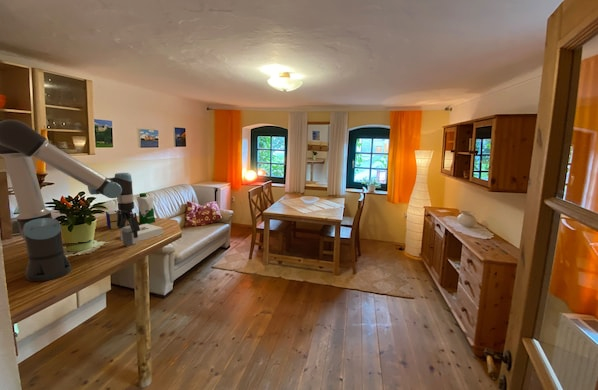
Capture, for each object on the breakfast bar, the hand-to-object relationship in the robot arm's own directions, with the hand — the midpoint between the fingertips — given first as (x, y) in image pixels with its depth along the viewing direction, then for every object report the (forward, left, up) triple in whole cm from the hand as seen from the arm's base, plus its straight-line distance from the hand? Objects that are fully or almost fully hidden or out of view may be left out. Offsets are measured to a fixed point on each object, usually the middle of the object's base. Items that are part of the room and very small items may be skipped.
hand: (129, 241), depth 165 cm
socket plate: (+13, +9, -2) cm, 16 cm away
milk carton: (+30, +31, -2) cm, 43 cm away
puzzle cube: (+14, +39, -2) cm, 42 cm away
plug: (0, 0, -2) cm, 2 cm away
